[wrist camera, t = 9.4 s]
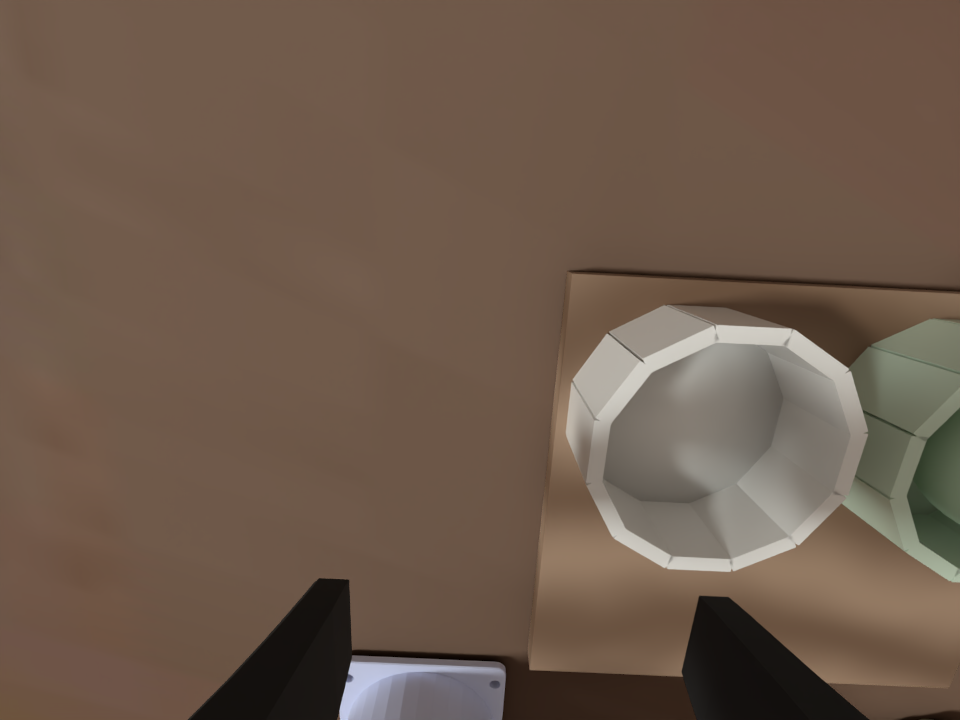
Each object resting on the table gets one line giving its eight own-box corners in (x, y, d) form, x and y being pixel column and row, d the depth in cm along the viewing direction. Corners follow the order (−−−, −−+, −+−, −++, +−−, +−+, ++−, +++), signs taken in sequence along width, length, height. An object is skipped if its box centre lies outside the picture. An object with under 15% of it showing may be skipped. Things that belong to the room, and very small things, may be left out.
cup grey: (759, 511, 18) (822, 576, 15) (557, 502, 18) (574, 564, 15) (811, 312, 16) (900, 334, 12) (580, 300, 16) (607, 319, 12)
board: (927, 667, 22) (948, 688, 21) (527, 650, 21) (529, 669, 20) (1088, 298, 17) (1126, 302, 16) (567, 271, 16) (572, 273, 15)
